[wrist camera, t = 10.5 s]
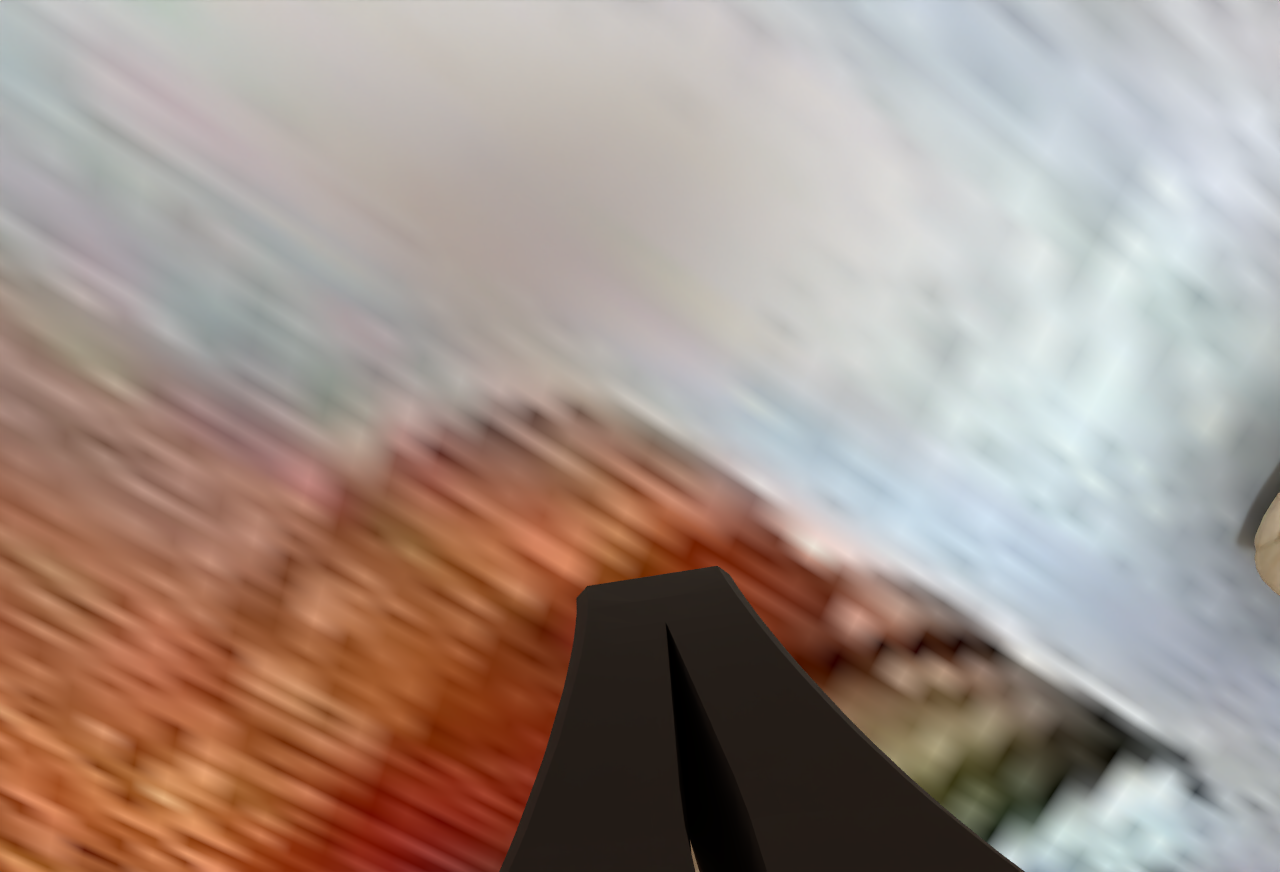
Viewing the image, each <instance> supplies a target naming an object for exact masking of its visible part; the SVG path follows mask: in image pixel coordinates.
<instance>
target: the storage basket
mask: <svg viewBox="0 0 1280 872" xmlns="http://www.w3.org/2000/svg"><path fill="white" fill-rule="evenodd" d="M1254 544H1255V548H1256V554H1255V564H1256V569H1257V571H1258V573H1259V574H1260V576H1261V578H1262V580H1263V581H1264V582H1265V583H1266V584H1267V585H1268V586H1269V587H1270V588H1271V589H1272V590H1273V591H1274V592H1275V593H1277V594H1278V595H1279V596H1280V492H1279V493H1278V495H1277V496H1276V497H1275V499H1274V500H1273V502H1272V503H1271V505H1270V506H1269V508H1268V510H1267V511H1266V513H1265V515H1264V516H1263V519H1262V521H1261V523H1260V526H1259V528H1258V530H1257V533H1256V536H1255V541H1254Z"/></svg>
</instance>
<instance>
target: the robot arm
mask: <svg viewBox="0 0 1280 872" xmlns="http://www.w3.org/2000/svg"><path fill="white" fill-rule="evenodd" d="M690 841H691V844H692V848H693V851H694V854H695V858H696V861H697V865H698V868H699V871H700V872H1024V871H1023V870H1022V869H1020V868H1019V867H1018V866H1016V865H1015V864H1014V863H1012V862H1011V861H1010V860H1008V859H1007V858H1006V857H1005V856H1003V855H1002V854H1001V853H999V852H998V851H997V850H995V849H994V848H993V847H992V846H990V845H989V844H988V843H987V842H985V841H984V840H983V839H982V838H981V837H979V836H978V835H977V834H976V833H974V832H973V831H972V830H971V829H969V828H968V827H967V826H966V825H964V824H963V823H962V822H961V821H959V820H958V819H957V818H956V817H955V816H953V815H952V814H951V813H950V812H949V811H947V810H946V809H945V808H944V807H943V806H942V805H940V804H939V803H938V802H937V801H936V800H935V799H934V798H932V797H931V796H930V795H929V794H928V793H927V792H926V791H924V790H923V789H922V788H921V787H920V786H919V785H918V784H917V783H916V782H914V781H913V780H912V779H911V778H910V777H909V776H908V775H907V774H906V773H905V772H903V771H902V770H901V769H900V768H899V767H898V766H897V765H896V764H895V763H894V762H893V761H892V760H891V759H890V758H889V757H888V756H887V755H885V754H884V753H883V752H882V751H881V750H880V749H879V748H878V747H877V746H876V745H875V744H874V743H873V742H872V741H871V740H870V739H869V738H868V737H867V736H866V735H865V734H864V733H863V732H862V731H861V730H860V729H859V728H858V727H857V726H856V725H855V724H854V723H853V722H852V721H851V720H850V719H849V718H848V717H847V716H846V715H845V714H844V713H843V712H842V711H841V710H840V709H839V708H838V707H837V706H836V704H835V703H834V702H833V701H832V700H831V699H830V698H829V697H828V696H827V695H826V694H825V693H824V692H823V690H822V689H821V688H820V687H819V686H818V685H817V684H816V683H815V682H814V681H813V680H812V679H811V678H810V677H809V675H808V674H807V673H806V672H805V671H804V670H803V669H802V668H801V666H800V665H799V664H798V663H797V662H796V661H795V660H794V658H793V657H792V656H791V655H790V654H789V653H788V651H787V650H786V649H785V648H784V647H783V645H782V644H781V643H780V642H779V641H778V639H777V638H776V637H775V636H774V634H773V633H772V632H771V631H770V630H769V628H768V627H767V626H766V625H765V623H764V622H763V621H762V620H761V618H760V617H759V616H758V614H757V613H756V612H755V610H754V609H753V608H752V606H751V605H750V604H749V602H748V601H747V600H746V598H745V597H744V595H743V594H742V593H741V591H740V590H739V588H738V587H737V585H736V584H735V582H734V581H733V579H732V578H731V576H730V575H729V574H728V573H727V572H725V571H724V570H722V569H721V568H720V567H718V566H714V567H707V568H701V569H694V570H688V571H682V572H675V573H669V574H662V575H656V576H650V577H643V578H637V579H630V580H624V581H618V582H611V583H605V584H598V585H592V586H587V587H586V588H585V589H584V591H583V592H582V593H581V594H580V595H579V596H578V597H577V617H576V627H575V635H574V642H573V648H572V653H571V658H570V663H569V667H568V672H567V676H566V681H565V685H564V689H563V693H562V697H561V700H560V704H559V707H558V710H557V714H556V717H555V721H554V724H553V728H552V731H551V735H550V738H549V742H548V745H547V748H546V752H545V755H544V758H543V761H542V764H541V767H540V769H539V772H538V775H537V777H536V780H535V783H534V785H533V788H532V791H531V793H530V796H529V799H528V801H527V804H526V807H525V810H524V812H523V815H522V818H521V820H520V823H519V826H518V828H517V831H516V834H515V836H514V839H513V841H512V843H511V846H510V848H509V850H508V853H507V855H506V857H505V860H504V862H503V865H502V867H501V869H500V871H499V872H695V868H694V864H693V859H692V855H691V845H690Z"/></svg>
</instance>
